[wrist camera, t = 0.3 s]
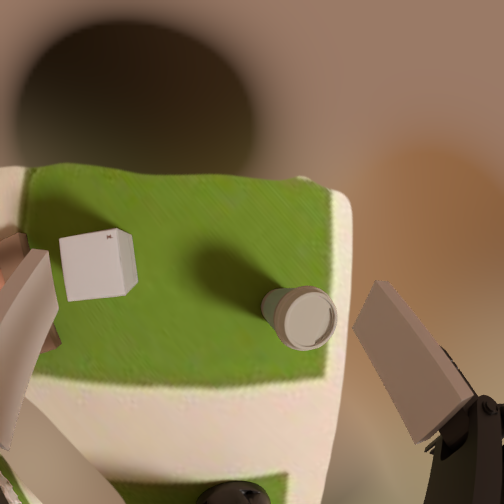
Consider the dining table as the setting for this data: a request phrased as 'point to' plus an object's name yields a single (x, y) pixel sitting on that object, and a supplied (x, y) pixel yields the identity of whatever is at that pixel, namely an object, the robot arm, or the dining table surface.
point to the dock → (5, 263)
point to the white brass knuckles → (8, 490)
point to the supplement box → (98, 264)
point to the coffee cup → (300, 316)
